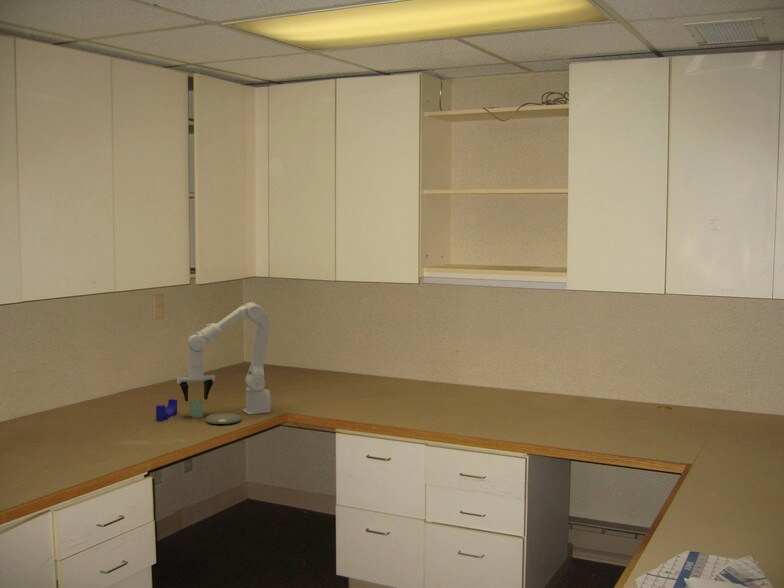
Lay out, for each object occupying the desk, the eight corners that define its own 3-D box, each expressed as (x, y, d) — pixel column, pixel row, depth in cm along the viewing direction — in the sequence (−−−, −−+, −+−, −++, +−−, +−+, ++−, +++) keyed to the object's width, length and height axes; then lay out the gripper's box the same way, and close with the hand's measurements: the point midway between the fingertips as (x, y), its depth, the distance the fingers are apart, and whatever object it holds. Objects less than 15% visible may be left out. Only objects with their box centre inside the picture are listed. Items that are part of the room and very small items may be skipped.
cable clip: (166, 413, 317) (166, 398, 317) (177, 414, 316) (177, 399, 316) (152, 421, 305) (152, 405, 305) (163, 421, 305) (163, 406, 304)
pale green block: (199, 414, 316) (199, 399, 316) (202, 416, 313) (202, 401, 312) (189, 415, 314) (189, 400, 314) (192, 418, 311) (192, 402, 310)
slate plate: (234, 415, 315) (234, 411, 315) (245, 423, 304) (245, 419, 304) (201, 419, 309) (201, 415, 309) (211, 427, 298) (211, 423, 298)
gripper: (211, 362, 318) (211, 396, 320) (174, 365, 311) (174, 399, 313) (216, 365, 312) (216, 399, 314) (179, 368, 305) (179, 403, 307)
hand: (196, 400), depth 313 cm, fingers open, 7 cm apart
